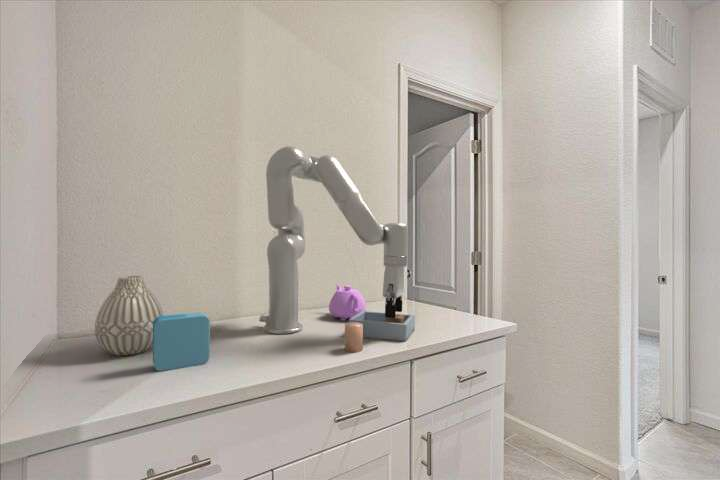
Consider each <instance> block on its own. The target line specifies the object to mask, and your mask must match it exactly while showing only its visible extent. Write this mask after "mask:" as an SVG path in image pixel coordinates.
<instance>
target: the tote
mask: <svg viewBox="0 0 720 480" xmlns="http://www.w3.org/2000/svg"><path fill="white" fill-rule="evenodd" d="M395 315H404V323H403V324H402V323H391V322H385V312H382V311H370V310H368V311H367V310H366V311H362V312H360V313H359V314H357V315H356V316H354V317H352V318H348V323H350V322H357V323H362V324H363V338H368V339H379V340H387V341H388V340H390V341H397V342H399V341H400V342H407V341H408V339H409V338H410V337H411V336H412V335H413V333H414V332H415V330H416V329H415V328H416V315H415V314H405V313H396V314H395Z"/></svg>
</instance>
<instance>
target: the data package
mask: <svg viewBox="0 0 720 480" xmlns="http://www.w3.org/2000/svg"><path fill="white" fill-rule="evenodd" d="M210 324H211V323H210V319H209V317H208V316H207V314H205V312H204V313H203V312H200V311H199V312H189V313H181V314H179V313H178V314H169V315H168V314H166V315H164V316H159V317H157V318H155V320H154V321H153V346H152V363H153V367H154V369H155V370H156V371H158V372H164V371H171V370H177V369H178V370H179V369H183V368H189V367H195V366H202V365H205V364H206V363H207V362H208V361H209V360H210V335H211V334H210V331H211V330H210Z"/></svg>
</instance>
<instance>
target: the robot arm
mask: <svg viewBox="0 0 720 480" xmlns="http://www.w3.org/2000/svg"><path fill="white" fill-rule="evenodd" d="M265 174H266V175H265V178H266V181H265V182H266V191H267V195H266V196H267V198H266V199H267V210H268V211H267V215H268V222H269V224H270V226H271V227H272V228H274V229H276V230H277V235H275V236H274V237H273V238H271V239H270V240H269V242H268V245H267V248H266V249H267V250H266V257H267V264H268V265H267V266H268V289H269V290H268V315H267V314H261V315H260V317H259V319H258V321H259V322H262V323H265V325H264V326H263V330H264V332H266V333H267V334H268V333H269V334H274V335H276V334H277V335H286V334H294V333H297V332H300V331H302V330H303V327H304V325H303V324H302V323H301V322H299V266H298V260H299V259H300V258H302V257H303V255H304V254H305V249H306V237H305V224H304V223H305V222H304V215H303V213H302V210H301V209H300V207H299V206H297V205H296V204H295V200H294V199H295V198H294V186H293V180H292V177H295V178H298V179H302V180H307V181H311V182H315V183H321V184H322V186H323V187H324V188H325V190H326V191H327V193H328V194H329V196H330V197H331V198H332V200H333V201H334V203H335V205H336V206H337V208H338V209H339V211H340V212H341V214H342V215H343V217H344V218H345V220H346V221H347V222H348V224H349V225H350V227H351V228H352V230H353V231H354V233H355V234H356V236H357V237H358V239H359V240H360V241H361V242H362V243H363V244H365V245H367V246H377V245H383V267H385V268H384V273H383V274H384V275H383V282H382V283H383V284H382V286H383V287H382V297H383V298H385V302H384V303H385V306H384V313H385V317H387V318H395V314H397V313H402V312H403V294H404V289H405V267H406V268H407V267H408V242H409V239H408V235H409V233H408V232H409V227H408V225H407V224H405V223H402V222H389V223H382V222H381V223H380V222H378V220H377V219H376V218H375V216H374V215H373V214H372V212H371V211H370V209H369V207H368V206H367V204H366V202H364V200H363V198H362V194H361V192H360V191H359V189H358V187H357V186H356V185H355V183H354V181H352V178H351V177H350V176H349V174H348V173H347V172H346V170H345V169H344V167H343V166H342V164H341V162H340V161H339V160H338V159H337V158H336V157H335V156H333V155H330V154H326V155H325V154H324V155H322V156H320V157H316V156H311V155H309V154H306V153H305V152H304V151H302V150H301V149H299V148H298V147H296V146H295V147H294V146H291V145H289V146H283V147H281V148H279V149H278V150H276V151H275V152H274V153H273V154H272V155H271V157H270V158H269V160H268V163H267V166H266V172H265Z"/></svg>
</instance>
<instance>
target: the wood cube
mask: <svg viewBox="0 0 720 480" xmlns="http://www.w3.org/2000/svg"><path fill="white" fill-rule="evenodd" d="M385 322H391V323H402V324H403V323H404V315H395V318H387V317H385Z"/></svg>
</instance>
